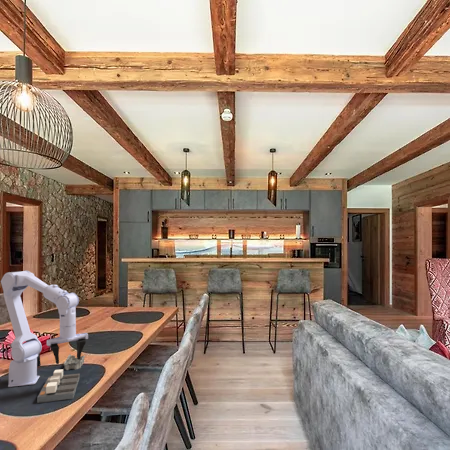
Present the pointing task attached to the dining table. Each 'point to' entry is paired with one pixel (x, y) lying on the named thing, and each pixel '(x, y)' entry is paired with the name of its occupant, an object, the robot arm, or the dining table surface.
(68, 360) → the egg carton
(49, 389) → the cream small block
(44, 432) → the dining table surface
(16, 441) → the dining table surface
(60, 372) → the white small block
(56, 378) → the cream small block
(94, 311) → the dining table surface
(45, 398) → the switch unit
